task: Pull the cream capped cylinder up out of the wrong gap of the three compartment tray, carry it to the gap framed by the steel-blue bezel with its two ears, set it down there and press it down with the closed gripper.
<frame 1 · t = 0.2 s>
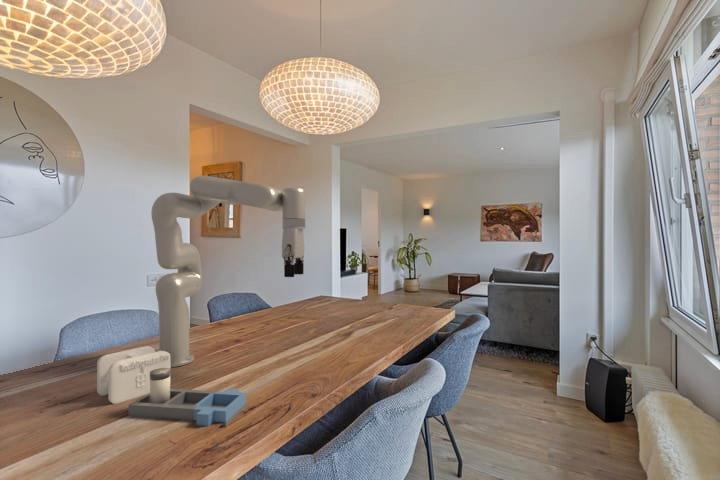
hand: (294, 275, 119), 31 cm above the table, tool pointing down, fingers open, 9 cm apart
three compartment tray: (189, 412, 88), on the table
cream capped cylinder: (160, 406, 89), point 1 cm above the table, touching three compartment tray
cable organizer: (135, 395, 99), on the table
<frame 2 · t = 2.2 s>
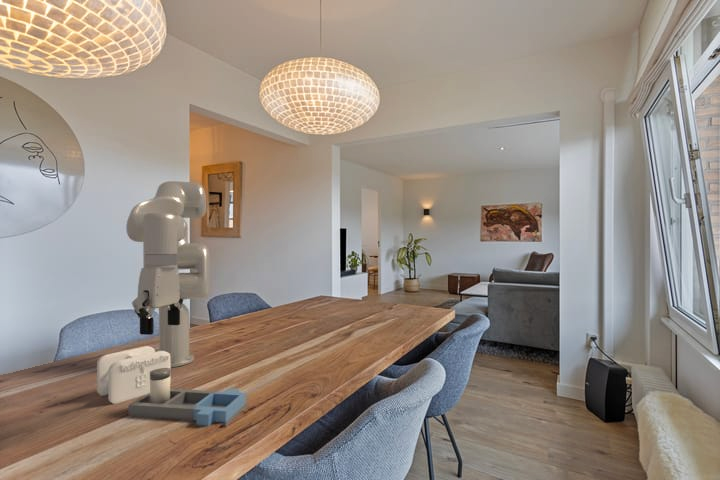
hand: (161, 329, 89), 20 cm above the table, tool pointing down, fingers open, 9 cm apart
nothing on the table moved.
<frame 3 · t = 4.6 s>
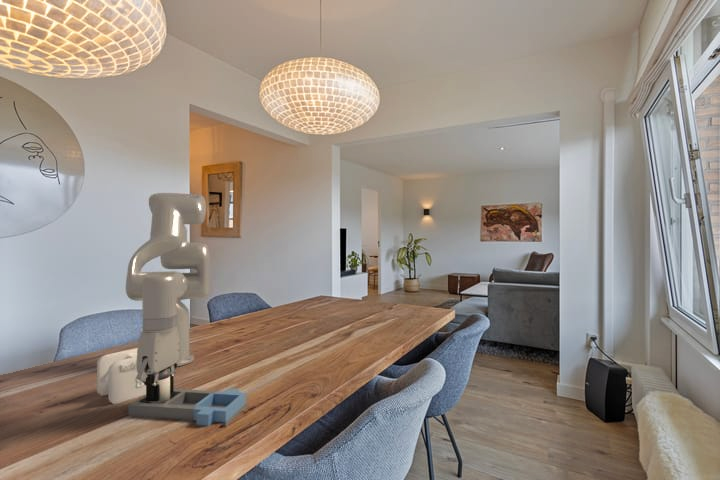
hand: (160, 395, 89), 4 cm above the table, tool pointing down, fingers closed on cream capped cylinder, 4 cm apart
cream capped cylinder: (160, 406, 89), point 1 cm above the table, touching three compartment tray, gripper
everything else where it was.
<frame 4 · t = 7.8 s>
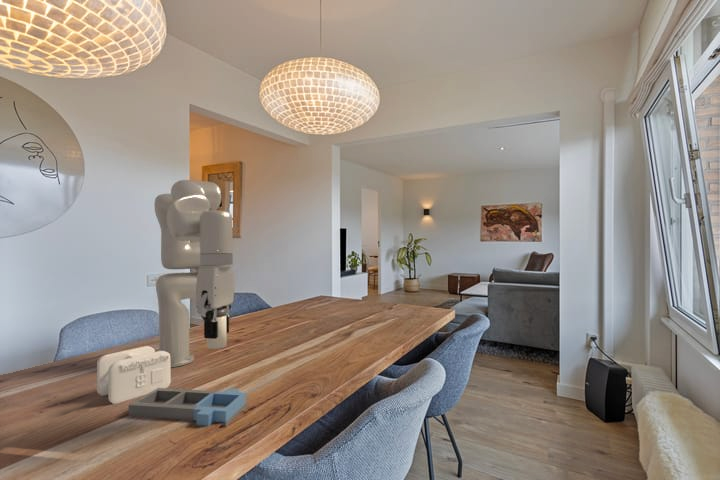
hand: (216, 334, 87), 20 cm above the table, tool pointing down, fingers closed on cream capped cylinder, 4 cm apart
cream capped cylinder: (217, 346, 87), point 17 cm above the table, touching gripper
everything else where it was.
when the fingers open (5 cm above the table, at t = 11.0 s): cream capped cylinder stays where it is, resting on three compartment tray.
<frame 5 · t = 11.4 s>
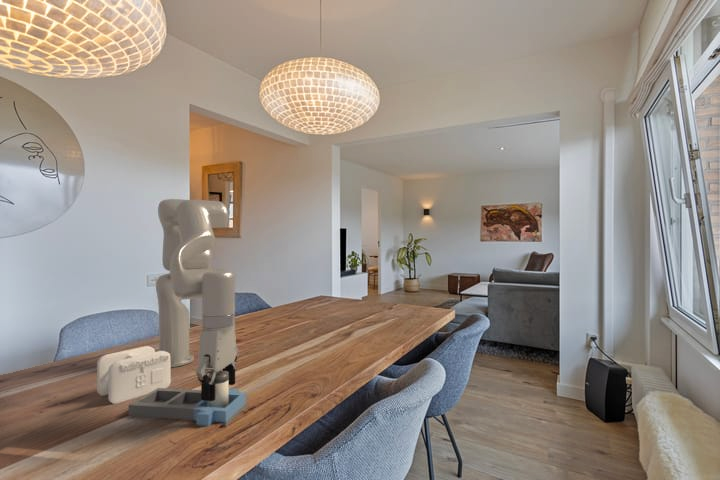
hand: (219, 391, 87), 6 cm above the table, tool pointing down, fingers open, 8 cm apart
cream capped cylinder: (219, 410, 87), point 1 cm above the table, touching three compartment tray
everything else where it was.
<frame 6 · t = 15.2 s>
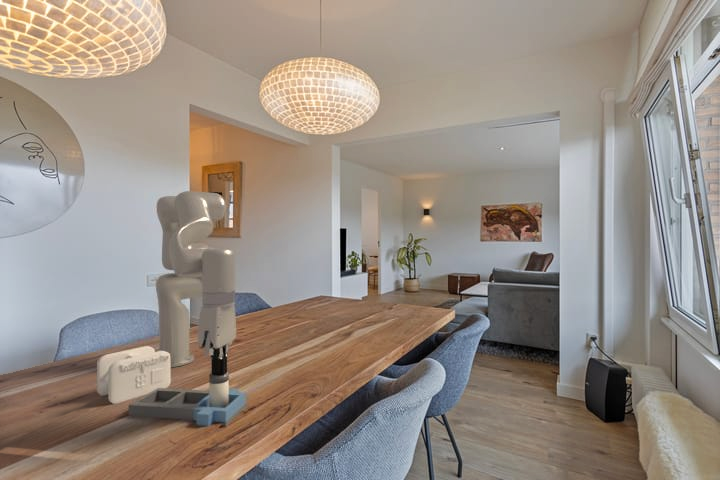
hand: (219, 373, 86), 10 cm above the table, tool pointing down, fingers closed
cream capped cylinder: (219, 410, 87), point 1 cm above the table, touching three compartment tray, gripper
everything else where it was.
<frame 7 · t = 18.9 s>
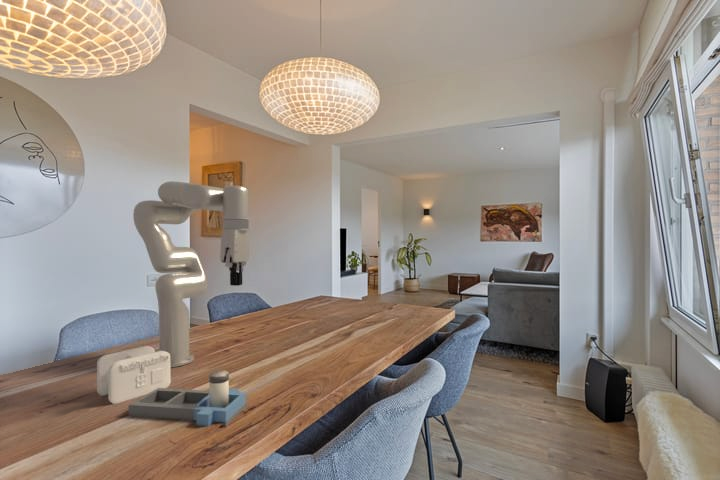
hand: (236, 285, 110), 29 cm above the table, tool pointing down, fingers closed
cream capped cylinder: (219, 410, 87), point 1 cm above the table, touching three compartment tray
everything else where it was.
at the end: cream capped cylinder 0.1 cm from the target spot on the three compartment tray, point 1.0 cm above the three compartment tray's base; cream capped cylinder tilted 1°; the gripper is holding nothing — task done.
